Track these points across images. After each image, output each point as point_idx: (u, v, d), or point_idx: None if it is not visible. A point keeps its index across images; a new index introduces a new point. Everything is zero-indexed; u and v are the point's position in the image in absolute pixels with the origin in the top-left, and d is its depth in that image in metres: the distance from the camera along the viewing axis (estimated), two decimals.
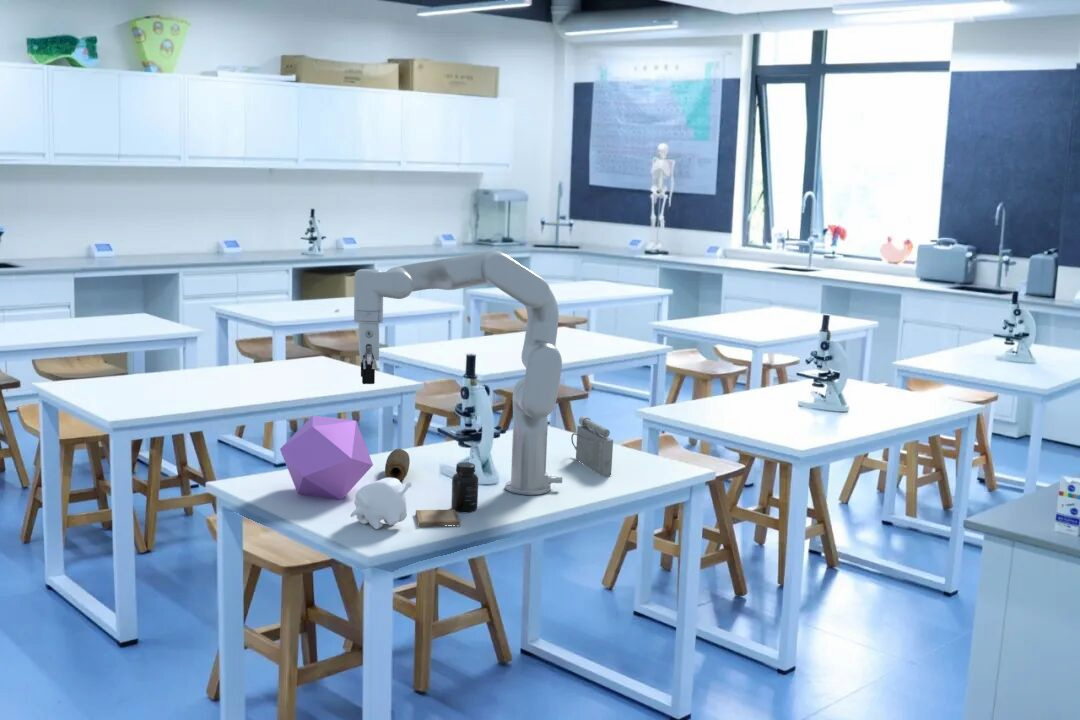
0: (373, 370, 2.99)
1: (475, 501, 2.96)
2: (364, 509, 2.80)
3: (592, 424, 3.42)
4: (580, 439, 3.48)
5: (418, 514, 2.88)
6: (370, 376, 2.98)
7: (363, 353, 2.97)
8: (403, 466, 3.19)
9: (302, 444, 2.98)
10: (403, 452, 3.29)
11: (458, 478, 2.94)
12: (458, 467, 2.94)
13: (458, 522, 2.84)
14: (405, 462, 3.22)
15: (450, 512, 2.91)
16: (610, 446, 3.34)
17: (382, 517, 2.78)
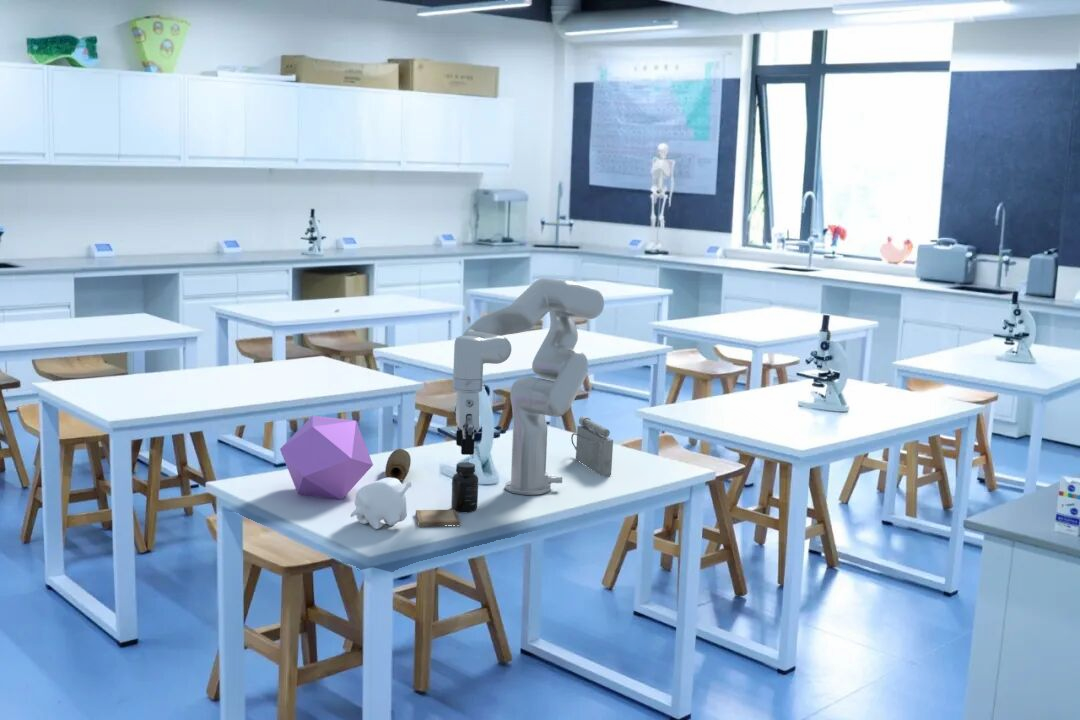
0: (473, 440, 2.90)
1: (475, 501, 2.96)
2: (364, 509, 2.80)
3: (592, 424, 3.42)
4: (580, 439, 3.48)
5: (418, 514, 2.88)
6: (470, 447, 2.89)
7: (463, 423, 2.89)
8: (403, 466, 3.19)
9: (302, 444, 2.98)
10: (404, 452, 3.29)
11: (458, 478, 2.94)
12: (458, 467, 2.94)
13: (458, 522, 2.84)
14: (406, 462, 3.22)
15: (450, 512, 2.91)
16: (610, 446, 3.34)
17: (382, 517, 2.78)
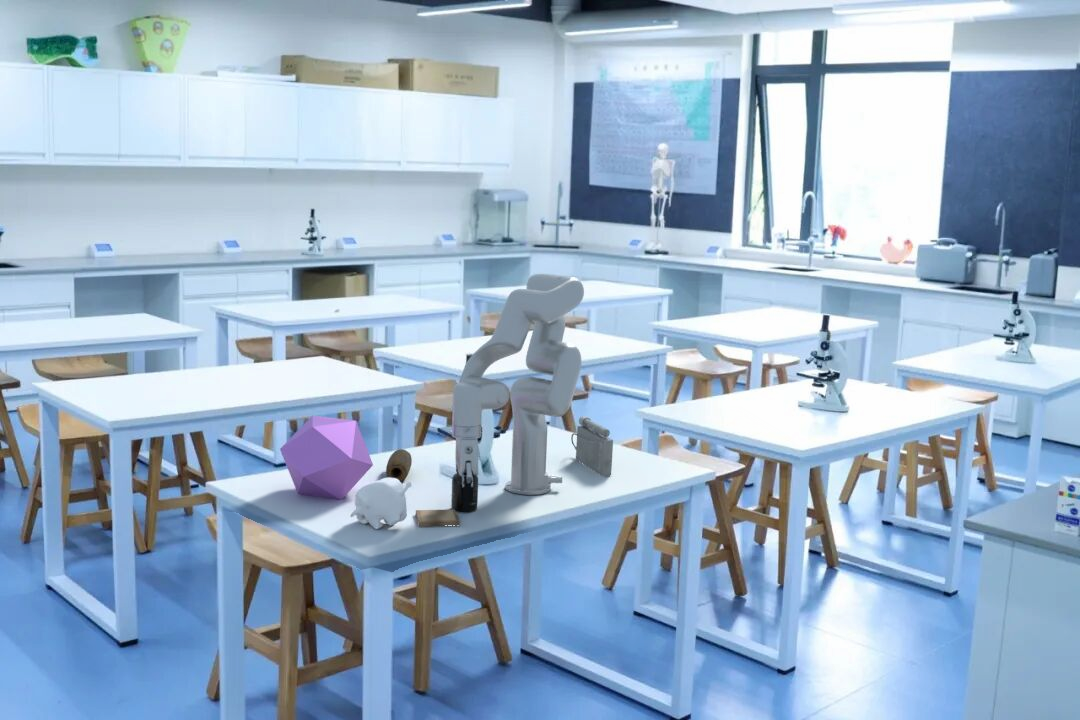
0: (472, 488, 2.93)
1: (475, 501, 2.96)
2: (364, 509, 2.80)
3: (592, 424, 3.42)
4: (580, 439, 3.48)
5: (418, 514, 2.88)
6: (469, 494, 2.93)
7: (462, 472, 2.91)
8: (404, 466, 3.19)
9: (302, 444, 2.98)
10: (405, 452, 3.28)
11: (458, 478, 2.94)
12: None
13: (458, 522, 2.84)
14: (406, 462, 3.22)
15: (450, 512, 2.91)
16: (610, 446, 3.34)
17: (382, 517, 2.78)
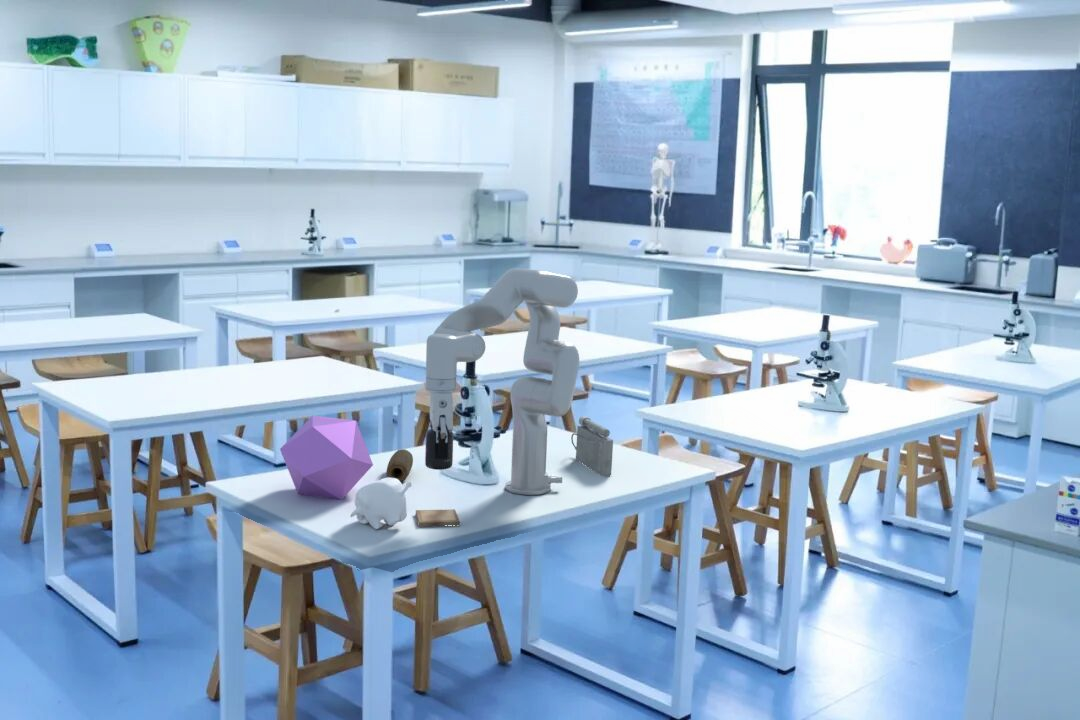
0: (446, 444, 2.81)
1: (450, 458, 2.83)
2: (364, 509, 2.80)
3: (592, 424, 3.42)
4: (580, 439, 3.48)
5: (418, 514, 2.88)
6: (443, 450, 2.80)
7: (436, 427, 2.79)
8: (404, 466, 3.19)
9: (302, 444, 2.98)
10: (406, 452, 3.28)
11: (432, 434, 2.81)
12: None
13: (458, 522, 2.84)
14: (407, 463, 3.22)
15: (450, 512, 2.91)
16: (610, 446, 3.34)
17: (382, 517, 2.78)
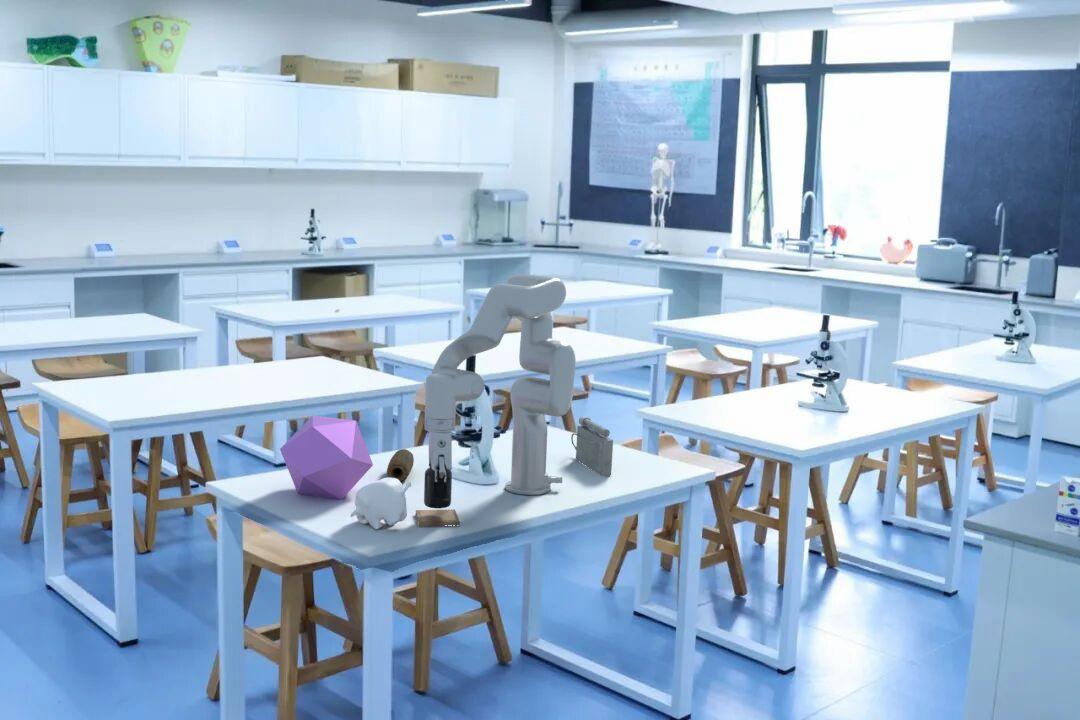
0: (445, 483, 2.82)
1: (448, 497, 2.85)
2: (364, 509, 2.80)
3: (592, 424, 3.42)
4: (580, 439, 3.48)
5: (418, 514, 2.88)
6: (442, 490, 2.82)
7: (435, 466, 2.80)
8: (405, 466, 3.19)
9: (302, 444, 2.98)
10: (407, 452, 3.28)
11: (431, 473, 2.83)
12: None
13: (458, 522, 2.84)
14: (407, 462, 3.22)
15: (450, 512, 2.91)
16: (610, 446, 3.34)
17: (382, 517, 2.78)
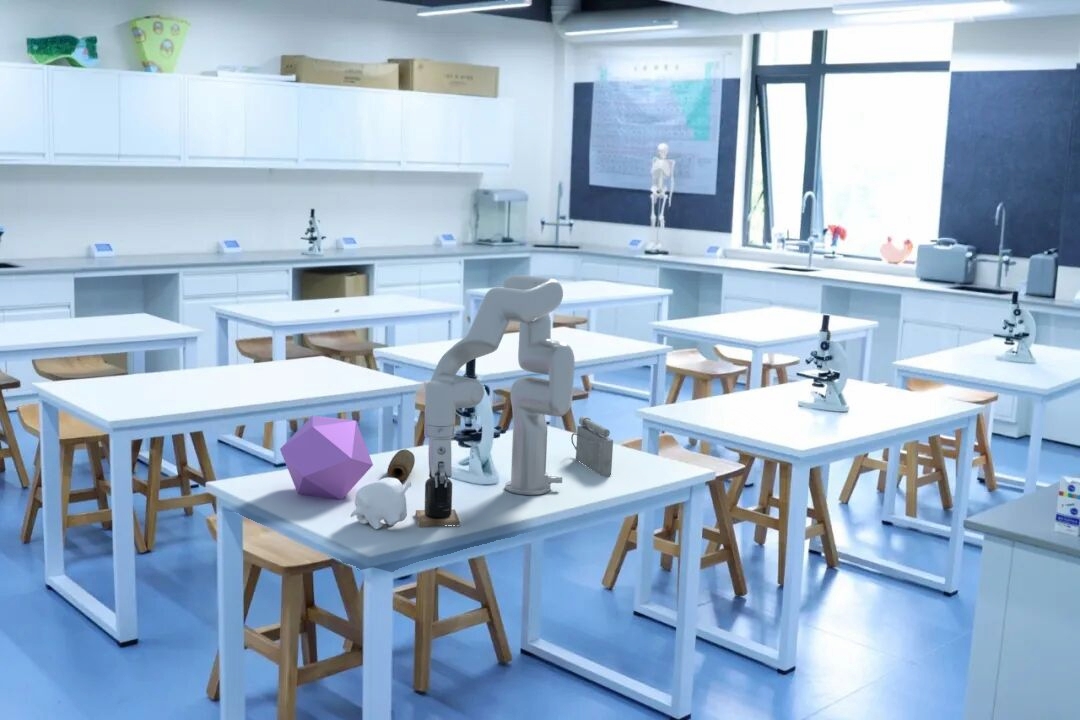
0: (445, 488, 2.81)
1: (449, 507, 2.85)
2: (364, 509, 2.80)
3: (592, 424, 3.42)
4: (580, 439, 3.48)
5: (418, 514, 2.88)
6: (442, 495, 2.81)
7: (435, 471, 2.80)
8: (405, 467, 3.19)
9: (302, 444, 2.98)
10: (408, 453, 3.28)
11: (431, 484, 2.83)
12: None
13: (458, 522, 2.84)
14: (408, 463, 3.21)
15: None
16: (610, 446, 3.34)
17: (382, 517, 2.78)
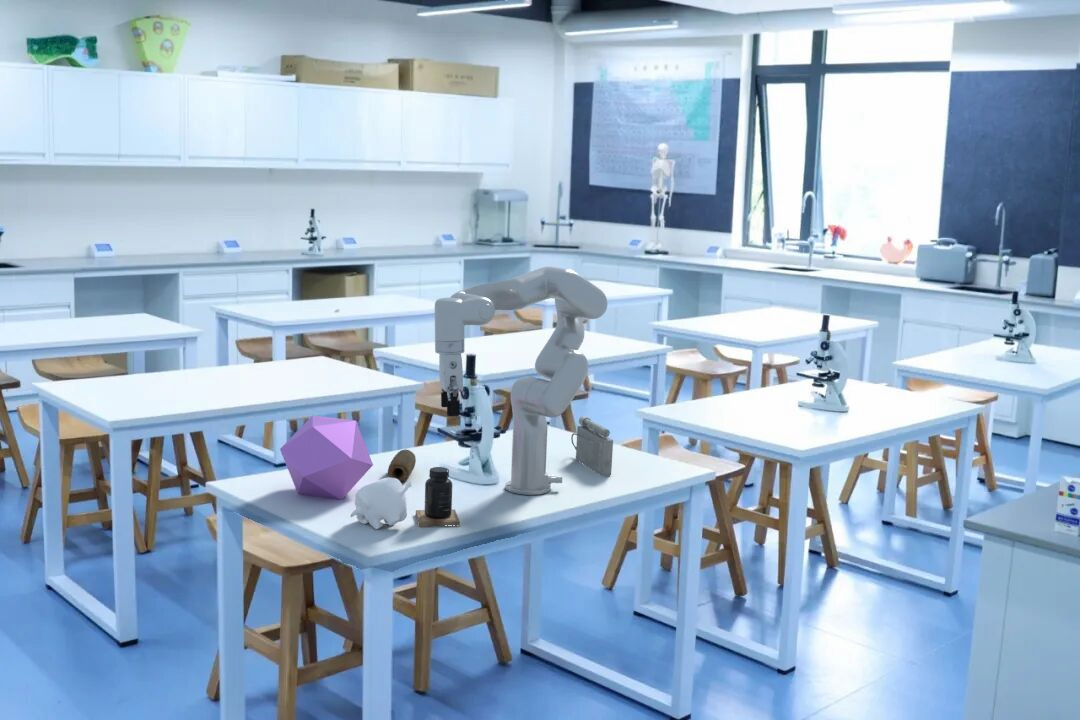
0: (458, 402, 2.91)
1: (449, 507, 2.85)
2: (364, 509, 2.80)
3: (592, 424, 3.42)
4: (580, 439, 3.48)
5: (418, 514, 2.88)
6: (455, 408, 2.91)
7: (447, 385, 2.90)
8: (405, 467, 3.18)
9: (302, 444, 2.98)
10: (408, 453, 3.28)
11: (431, 484, 2.83)
12: (431, 472, 2.84)
13: (458, 522, 2.84)
14: (408, 463, 3.21)
15: None
16: (610, 446, 3.34)
17: (382, 517, 2.78)
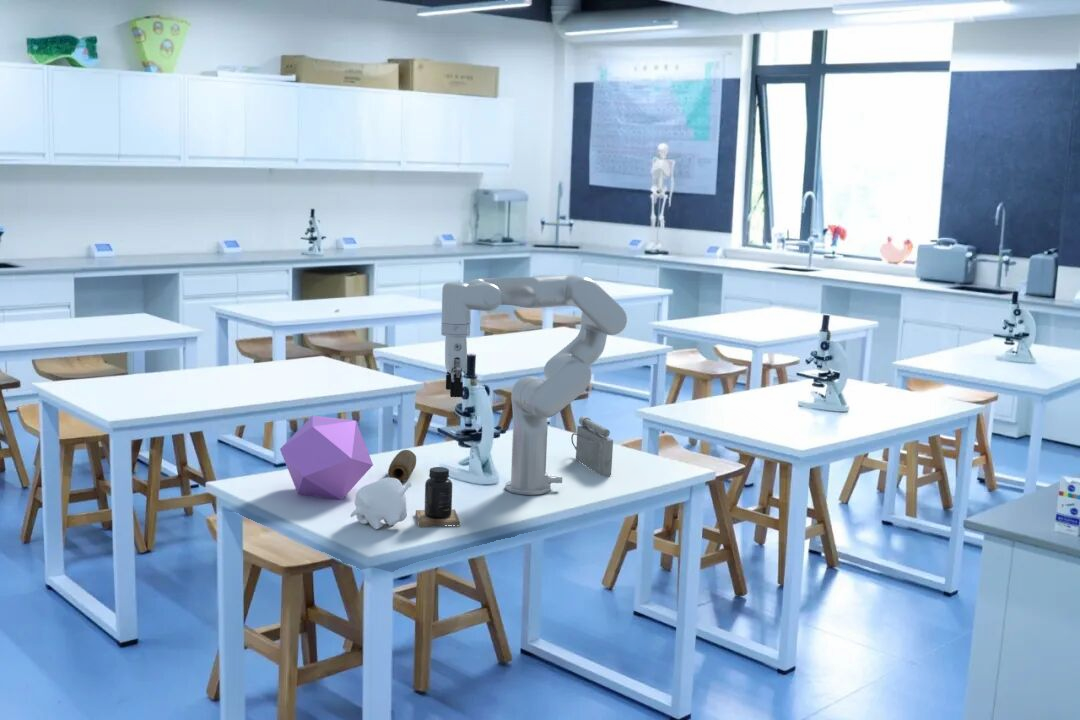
0: (461, 383, 2.99)
1: (449, 507, 2.85)
2: (364, 509, 2.80)
3: (592, 424, 3.42)
4: (580, 439, 3.48)
5: (418, 514, 2.88)
6: (458, 389, 2.98)
7: (451, 366, 2.98)
8: (405, 467, 3.18)
9: (302, 444, 2.98)
10: (409, 453, 3.28)
11: (431, 484, 2.83)
12: (431, 472, 2.84)
13: (458, 522, 2.84)
14: (408, 463, 3.21)
15: None
16: (610, 446, 3.34)
17: (382, 517, 2.78)
